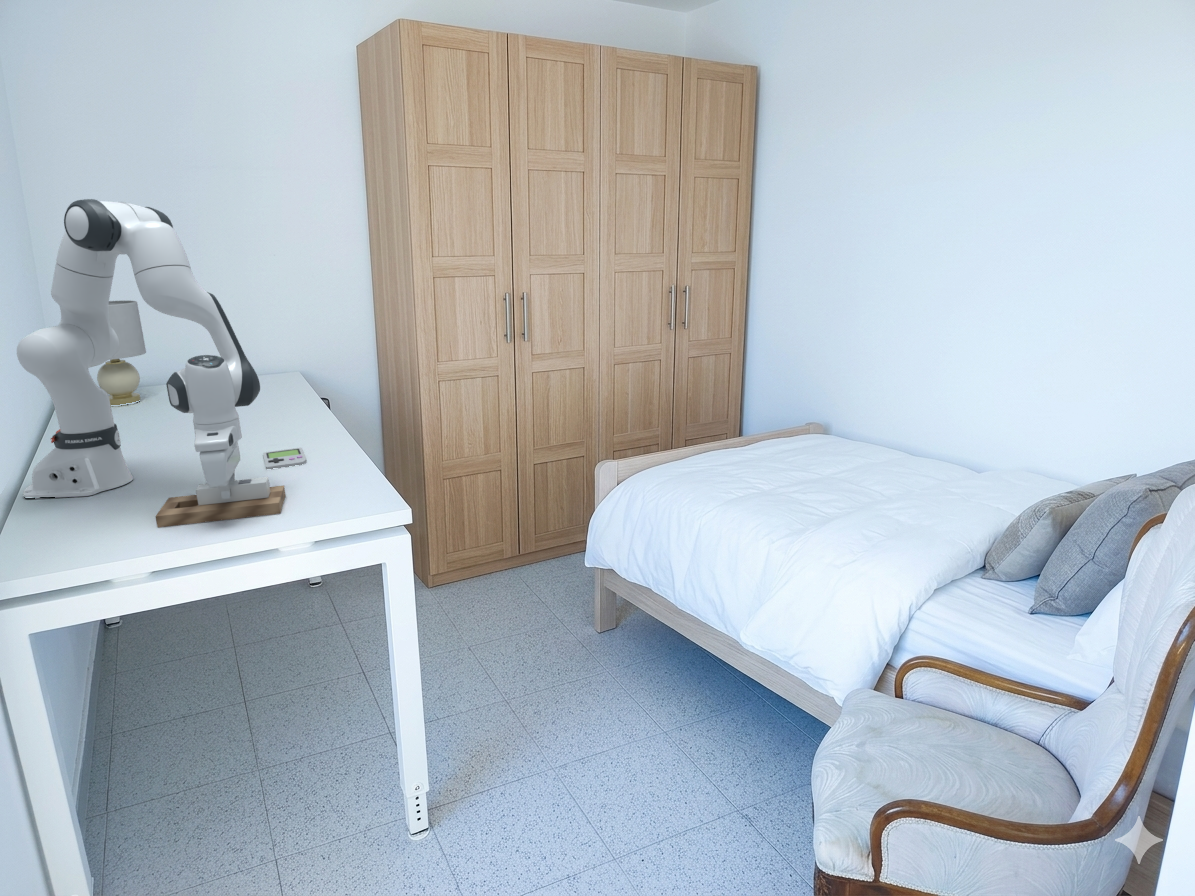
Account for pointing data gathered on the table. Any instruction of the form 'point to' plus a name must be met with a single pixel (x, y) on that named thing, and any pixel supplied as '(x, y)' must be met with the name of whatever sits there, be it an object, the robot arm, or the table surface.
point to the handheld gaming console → (284, 458)
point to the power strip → (235, 491)
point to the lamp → (123, 353)
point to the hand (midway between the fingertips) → (228, 493)
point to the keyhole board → (218, 509)
